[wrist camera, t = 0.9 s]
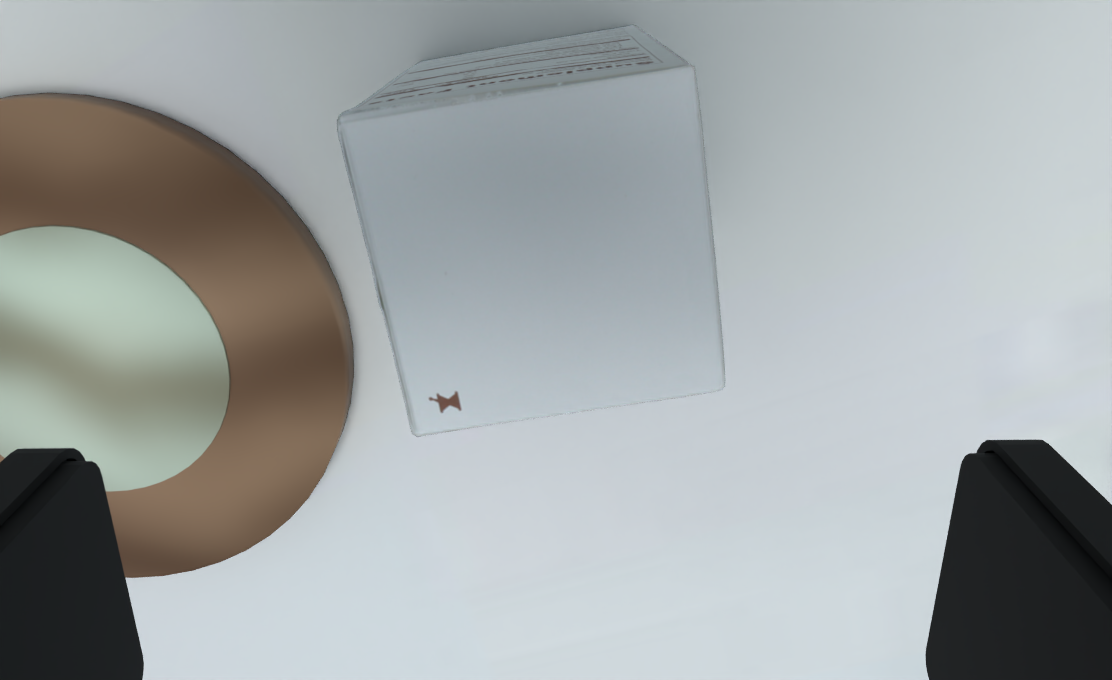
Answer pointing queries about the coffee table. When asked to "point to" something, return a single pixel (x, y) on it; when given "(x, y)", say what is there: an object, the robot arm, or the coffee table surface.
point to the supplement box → (540, 229)
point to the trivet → (164, 327)
